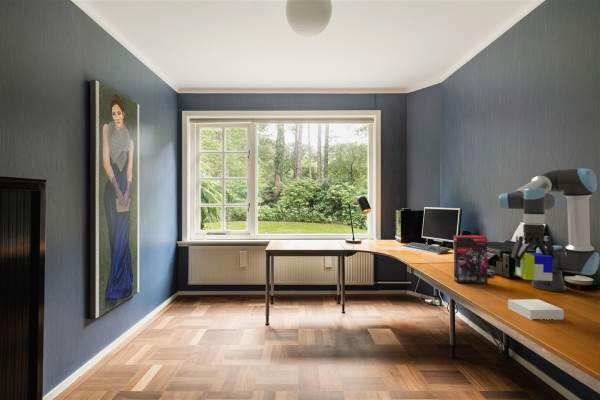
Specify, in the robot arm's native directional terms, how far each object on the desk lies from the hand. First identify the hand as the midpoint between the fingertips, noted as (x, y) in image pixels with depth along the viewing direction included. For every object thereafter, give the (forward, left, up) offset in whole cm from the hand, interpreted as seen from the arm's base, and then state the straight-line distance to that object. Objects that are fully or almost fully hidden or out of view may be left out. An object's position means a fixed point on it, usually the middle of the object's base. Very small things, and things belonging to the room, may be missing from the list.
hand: (533, 274), depth 146 cm
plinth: (0, +1, -16) cm, 16 cm away
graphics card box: (-1, -52, -17) cm, 55 cm away
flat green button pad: (-18, -74, -17) cm, 78 cm away
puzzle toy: (0, 0, -1) cm, 1 cm away
